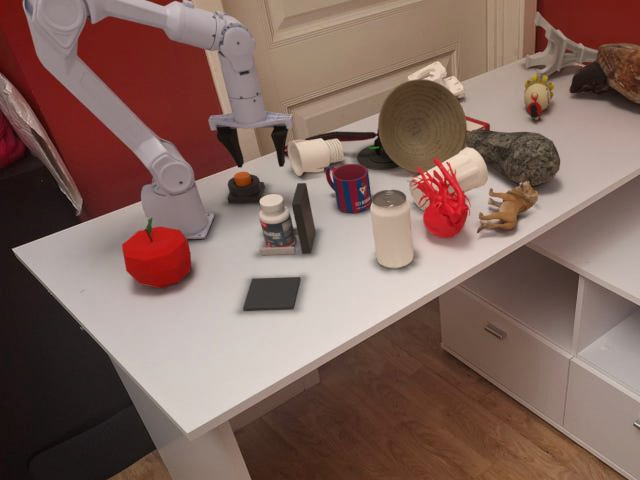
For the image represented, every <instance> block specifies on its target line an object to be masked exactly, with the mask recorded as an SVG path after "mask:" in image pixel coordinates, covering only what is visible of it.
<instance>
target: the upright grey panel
mask: <svg viewBox="0 0 640 480" xmlns="http://www.w3.org/2000/svg"><path fill="white" fill-rule="evenodd" d="M311 206H312V205H311V202H310V196H309V191H308V186H307V183H306V182H297V184H296V188H295V191H294V193H293V197H292V200H291V208H292V213H293V217H294V222H295V226H293V229H294V234H295V235H298V240H299V245H300V249H301V253H302V255H304V254H312V249H313V245H314V240H315V237H316V226H315V222H314V216H313V212H312V207H311ZM259 253H260V255H261V256H273V255H295V254H296V247H295V246H292V247H267V246H266V247H259Z"/></svg>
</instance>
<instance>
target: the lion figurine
mask: <svg viewBox="0 0 640 480" xmlns="http://www.w3.org/2000/svg"><path fill="white" fill-rule="evenodd" d="M488 196H490V197H488V200H487V204H488V205H490V206H493V207H496V208H499V209H498V211H495V212H493V213H490V214H487V215H485V214H484V213H483V212H481V211H479V213H478V220H479V224H483V225H481V226H479V227H478V228H477V230H476V234H479V233H481V232H482V231H483V230H484V229H486V228H499V229H501V230H512V229H514V227H516V226H517V223H518V215H519V214H522V213H525V212H527V211H528V210H530V209H531V208H533V206H534V205H535V204H536V202H537V201H538V200H539V192H538V191H537V190H534V187H532V185H530V182H529V181H528V182H527V181H526V182H524V183H522V182H521V183H520V185H519V186H515V187H514V188H513V189H509V190H507V191H506V192H495V191H494V189H493V188H491V187H490V188H489V191H488ZM493 198H497V199H501V200H502V201H497V200H495V199H493Z"/></svg>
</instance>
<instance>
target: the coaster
mask: <svg viewBox="0 0 640 480" xmlns="http://www.w3.org/2000/svg"><path fill="white" fill-rule="evenodd" d="M300 283H301V277H300V276H291V277H290V276H288V277H287V276H286V277H256V278H255V277H253V278H252V279H251V281H250V285H249V288H248V291H247V294H246V298H245V300H244V303H243V307H242V311H244V312H246V311H247V312H249V311H269V310H270V311H273V310H275V311H277V310H279V311H280V310H294V308H295V305H296V301H297V296H298V292H299V287H300Z"/></svg>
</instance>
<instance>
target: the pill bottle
mask: <svg viewBox="0 0 640 480" xmlns="http://www.w3.org/2000/svg"><path fill="white" fill-rule="evenodd" d="M259 207H260V211H259V213H258V218H259V224H260V226H261V231H262V235H263V237H264V243H265V245H266V248H267V247H294V246H295V244H296V241H297V239H296V234H294V229H293V227H294V225H293V220H292V215H291V212H290V210H289V209H288V207H287V206H285V201H284V197H283V196H282V195H281V194H277V193H272V194H266V195H264V196H261V199H260V202H259Z"/></svg>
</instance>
